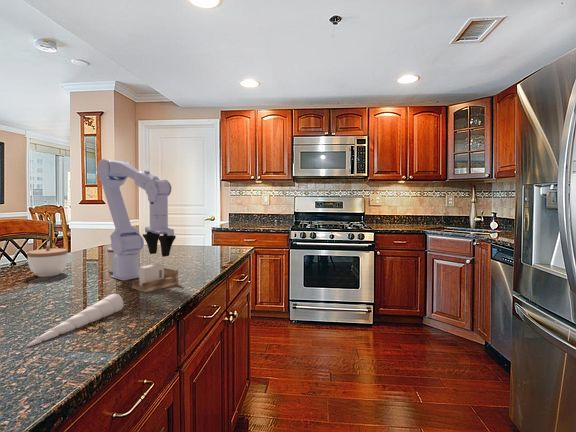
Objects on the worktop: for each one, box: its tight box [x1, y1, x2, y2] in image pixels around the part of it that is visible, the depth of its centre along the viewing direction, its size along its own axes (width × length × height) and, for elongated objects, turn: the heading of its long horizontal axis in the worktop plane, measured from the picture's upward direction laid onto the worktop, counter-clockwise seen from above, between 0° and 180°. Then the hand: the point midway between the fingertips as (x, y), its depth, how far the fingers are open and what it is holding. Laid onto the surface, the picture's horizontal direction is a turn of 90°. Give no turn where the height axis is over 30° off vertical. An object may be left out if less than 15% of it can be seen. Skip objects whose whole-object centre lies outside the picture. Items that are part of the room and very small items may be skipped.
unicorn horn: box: [26, 293, 124, 347], centre depth 78 cm, size 5×24×5 cm, turn 161°
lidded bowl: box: [26, 245, 69, 278], centre depth 129 cm, size 13×13×11 cm
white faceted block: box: [138, 263, 165, 286], centre depth 112 cm, size 3×7×6 cm, turn 143°
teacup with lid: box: [106, 246, 116, 274], centre depth 138 cm, size 12×9×12 cm
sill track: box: [131, 266, 179, 293], centre depth 113 cm, size 12×8×5 cm, turn 144°
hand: (159, 254), depth 116 cm, fingers open, 7 cm apart
